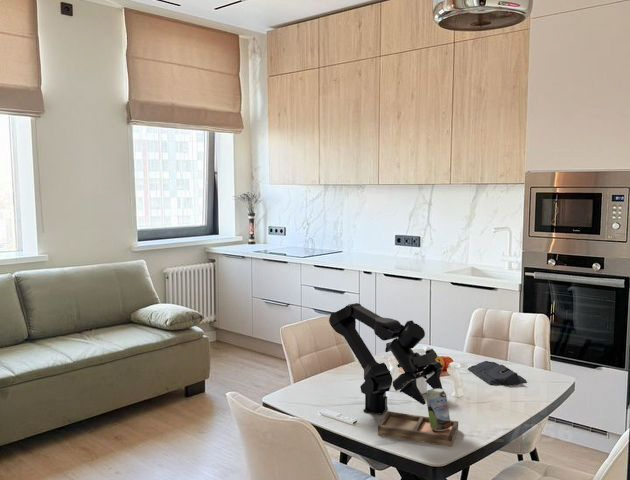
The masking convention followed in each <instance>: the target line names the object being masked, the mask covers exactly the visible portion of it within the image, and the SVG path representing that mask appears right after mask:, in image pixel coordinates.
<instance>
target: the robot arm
mask: <svg viewBox="0 0 630 480" xmlns="http://www.w3.org/2000/svg"><path fill="white" fill-rule="evenodd" d="M356 320H357V321H359V322H361V323H362V324H364V325H365V326H366V327H369V328H370V329H372V330H373V333H374V335H376V336H377V338H379V339H380V340H381V341H388V340H392V341H390V342H387V343H385V353H389V352H391V354H392V355H393V357H394V358H395V359H396V362H397V363H398V364H397V365H396V366H397V368H398V369H402V370H403V373H401V374H399V375H398V376H397V377H396V378H395V379H393V376H392V374H391V373H392V372H391V370H390V369H389V368H388V366H387V364H386V363H385V362H381V363H379V362H377V360H376V359H375V357H374V356H373V354H372V352H371V351H370V349H369V348H368V346H367V345H366V343H365V341H364V340H363V338H362V336H361V335H360V333H359V332H358V330H357V327H356V326H357V325H356V323H357V321H356ZM328 322H329V324H330V326H331V328H332V329H333V330H334V332H335V333H336V334H339V335H340V336H343V338H344V339H345V341H346V343H347V344H348V346H349V348H350V350H351V351H352V352H353V354H354V356H355V358H356V359H357V361H358V362H359V364H360V366H361V367H362V369H363V380H364V382H363V383H362V384H361V385H360V392H361V394H364V398H365V399H364V400H365V401H364V402H365V404H364V405H365V406H364V409H363V412H364V413H371V414H378V415H383V414H384V413H385V412H386V411H387V409H388V396H387V392H390V390H391V387H393V389H394V390H395V392H398V391H399V392H400V393H403V394H405V395H407V396H408V397H410V398H412V399H414V401H416V402H418V403H419V404H421V405H423V406H424V405H426V404H427V401H426V400H425V398H424V396H423V395H422V394H421V393H420V391H419V389H418V388H417V383H416V379H418V378H421V377H424V378H425V379H427V380H426V382H427V385H428V386H430V387H431V389H437V388H439V389H443V385H442V382H441V373H442V372H443V370H442V369H444V367H443V365H442V364H441V362H440V361H437V360H436V359H438V354H437V352H436V351H435V350H434V348H430V349H426V350H427V351H426V354H424V355H421V356H420V355H419V353H417V352H416V353H414V352H413V351H412V350H413V349H415V347H416V346H417V345H418V344H419V343H420V342H421V341H422V340H424V338H425V335H426V332H425V329H424V328H423V327H422V326H421V325H420V324H418V323H415V321H414V320H407V321H406V323H404V325H403V324H401V322H400V321H399V320H397V319H393V318H389V317H383V316H380V315H379V314H377V313H375V312H373V311H372V310H370V309H368V308H366V307H364V306H363V305H362V304H361V303H357V302H356V303H349V304H347V305H346V306H345V307H343V308H341V309H339V310H337V311H334V312H331V313H330V315H329V319H328ZM425 367H426V368H425ZM424 368H425V369H424ZM443 390H444V389H443Z"/></svg>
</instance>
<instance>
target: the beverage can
mask: <svg viewBox="0 0 630 480" xmlns="http://www.w3.org/2000/svg"><path fill="white" fill-rule="evenodd" d="M425 394H426V395H425V399H426V400H425V402H426V404H427V405H426V406H427V413H428V417H429V421H430V427H431V428H432V429H433V430H435V431H445V430H447V429H449V427H450V426H451V423H450V420H451V418H450V417H451V416H450V412H449V411H450V410H449V403H448V397H447V393H446V392H445V391H444V389H439V388H437V389H433V388H430V389H429V390H428V389H427V392H426V393H425Z"/></svg>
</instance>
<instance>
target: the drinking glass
mask: <svg viewBox="0 0 630 480" xmlns="http://www.w3.org/2000/svg"><path fill="white" fill-rule="evenodd" d="M427 350H428V349H425V348H412V351H413V352H414V353H416V352H417V353H419V355H420V356H421V355H424V354H426V351H427ZM425 368H426V367H425ZM425 368H424V369H425ZM426 380H427V379H425V378H424V377H421V378H418V379H416V383H417V388H418V389H419V391H420V393H421V394H423V395H424V394H427V391H428V383H427V382H426Z"/></svg>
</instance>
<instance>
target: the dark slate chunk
mask: <svg viewBox="0 0 630 480" xmlns="http://www.w3.org/2000/svg"><path fill="white" fill-rule="evenodd" d="M467 371H469V372H471V373H472V374H473V375H474V376H475V377H477V378H479V380H481V381H483V382H485V383H486V384H488V385H489V386H495V387H500V386H516V385H521V384H523V383H527V380H526V379H525V378H524V377H523V376H521V375H520V374H519V375H518V372H515V371H514V370H512V369H510V368H509V367H507V366H505V365H504V364H499V363H497V362H494V361H488V360H484V361H482V362H479V363H477V364H474V365H471V366H470V367H468V368H467Z"/></svg>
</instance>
